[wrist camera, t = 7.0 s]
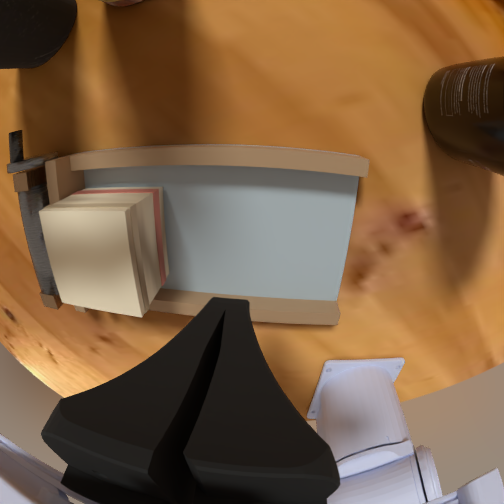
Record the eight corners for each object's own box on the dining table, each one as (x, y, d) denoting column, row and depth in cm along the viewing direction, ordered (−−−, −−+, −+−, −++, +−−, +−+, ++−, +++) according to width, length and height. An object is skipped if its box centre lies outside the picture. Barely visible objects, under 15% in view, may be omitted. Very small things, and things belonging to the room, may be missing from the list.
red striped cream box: (170, 273, 19) (143, 318, 14) (97, 266, 19) (61, 302, 15) (163, 185, 16) (125, 210, 12) (85, 187, 17) (38, 210, 12)
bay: (332, 307, 20) (341, 339, 17) (97, 286, 21) (75, 310, 18) (358, 155, 16) (379, 163, 12) (77, 152, 16) (45, 161, 13)
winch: (96, 282, 21) (64, 317, 16) (63, 276, 21) (31, 307, 17) (76, 120, 15) (28, 126, 11) (40, 129, 16) (-5, 138, 11)
